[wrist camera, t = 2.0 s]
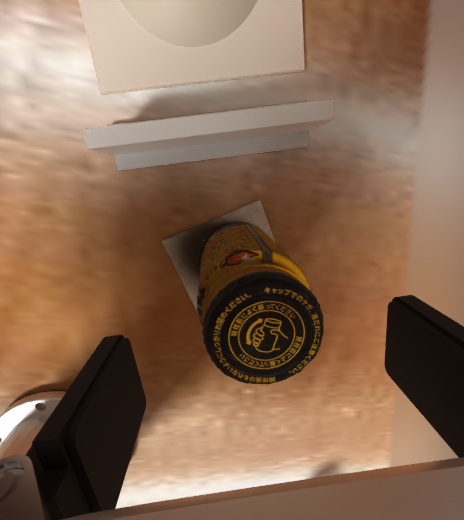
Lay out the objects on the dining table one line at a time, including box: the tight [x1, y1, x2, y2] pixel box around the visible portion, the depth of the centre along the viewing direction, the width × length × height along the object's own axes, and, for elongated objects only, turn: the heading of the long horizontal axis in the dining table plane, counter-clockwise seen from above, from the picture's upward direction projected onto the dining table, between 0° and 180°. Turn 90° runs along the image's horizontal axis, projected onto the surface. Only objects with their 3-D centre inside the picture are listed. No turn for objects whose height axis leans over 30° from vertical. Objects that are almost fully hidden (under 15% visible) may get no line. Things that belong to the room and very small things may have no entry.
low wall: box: [82, 99, 334, 171], centre depth 18 cm, size 3×14×5 cm, turn 97°
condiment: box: [161, 200, 323, 384], centre depth 17 cm, size 7×8×12 cm
